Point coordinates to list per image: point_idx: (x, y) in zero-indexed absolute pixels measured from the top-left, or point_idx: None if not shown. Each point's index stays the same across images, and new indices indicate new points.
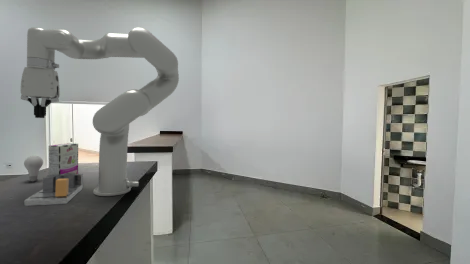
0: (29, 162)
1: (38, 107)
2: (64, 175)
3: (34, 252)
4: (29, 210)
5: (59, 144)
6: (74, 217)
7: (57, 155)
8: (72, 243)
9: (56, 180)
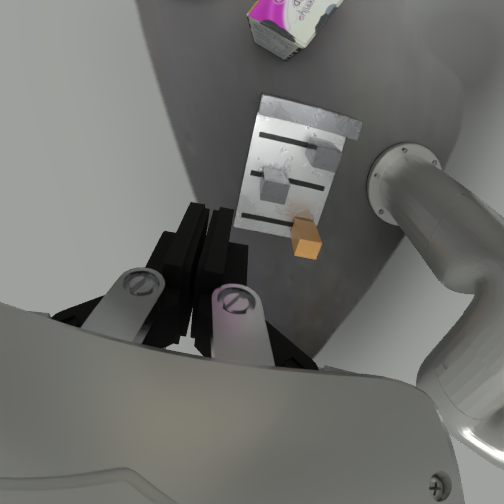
0: None
1: (186, 325)
2: (312, 165)
3: None
4: (249, 249)
5: None
6: (316, 303)
7: (288, 47)
8: None
9: (295, 255)
